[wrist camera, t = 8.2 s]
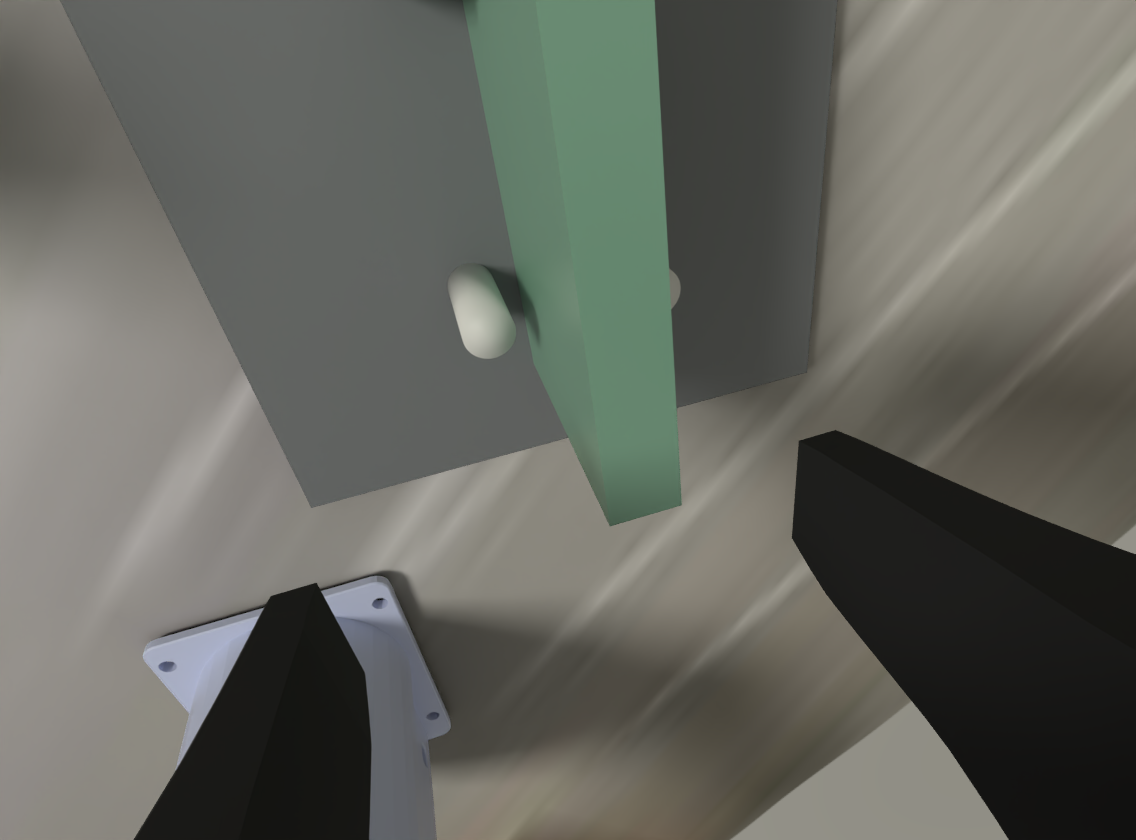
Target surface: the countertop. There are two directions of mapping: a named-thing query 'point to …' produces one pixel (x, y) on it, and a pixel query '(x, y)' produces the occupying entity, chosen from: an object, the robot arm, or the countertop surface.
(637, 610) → the countertop surface
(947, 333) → the countertop surface
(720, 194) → the plate
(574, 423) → the board
